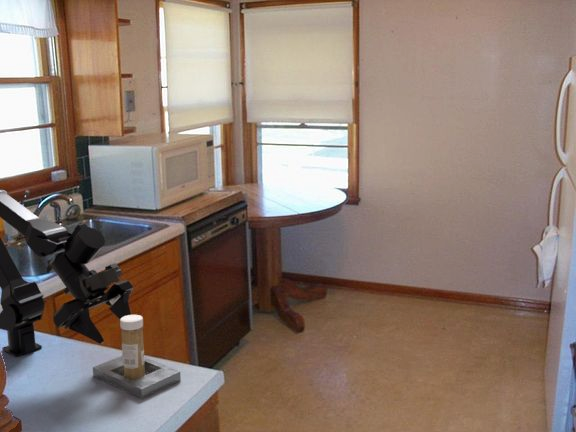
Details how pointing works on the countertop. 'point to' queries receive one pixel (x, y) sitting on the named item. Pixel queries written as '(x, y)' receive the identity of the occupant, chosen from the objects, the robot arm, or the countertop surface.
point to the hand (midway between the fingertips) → (117, 334)
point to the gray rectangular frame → (141, 386)
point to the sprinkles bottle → (132, 346)
